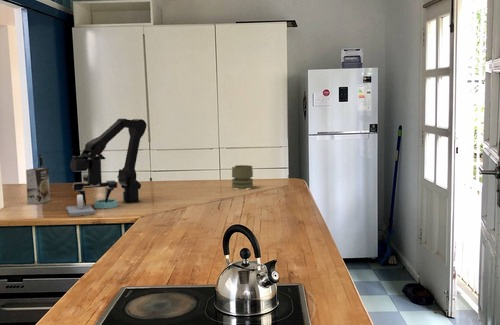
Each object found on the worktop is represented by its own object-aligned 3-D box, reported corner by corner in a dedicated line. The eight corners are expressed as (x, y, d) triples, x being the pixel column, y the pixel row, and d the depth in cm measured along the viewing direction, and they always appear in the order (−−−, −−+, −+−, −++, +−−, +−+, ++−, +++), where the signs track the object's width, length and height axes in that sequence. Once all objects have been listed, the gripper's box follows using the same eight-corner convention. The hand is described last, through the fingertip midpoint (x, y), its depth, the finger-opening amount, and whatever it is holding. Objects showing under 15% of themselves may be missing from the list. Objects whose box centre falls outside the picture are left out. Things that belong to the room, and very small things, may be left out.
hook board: (90, 208, 233) (89, 191, 232) (95, 214, 219) (94, 196, 218) (66, 210, 229) (65, 193, 228) (70, 216, 215) (69, 198, 214)
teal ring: (114, 203, 242) (114, 198, 242) (119, 207, 234) (118, 201, 233) (93, 205, 238) (93, 200, 238) (96, 209, 230) (96, 203, 229)
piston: (254, 165, 288) (250, 167, 277) (254, 186, 289) (250, 190, 278) (234, 165, 290) (229, 167, 279) (235, 186, 291) (229, 189, 280)
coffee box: (39, 204, 242) (37, 169, 241) (27, 203, 244) (25, 169, 242) (50, 200, 251) (48, 167, 249) (38, 200, 252) (36, 167, 251)
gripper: (112, 166, 243) (113, 199, 245) (70, 168, 236) (71, 202, 237) (117, 169, 233) (118, 203, 235) (73, 171, 226) (74, 207, 227)
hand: (95, 204), depth 234 cm, fingers open, 8 cm apart
